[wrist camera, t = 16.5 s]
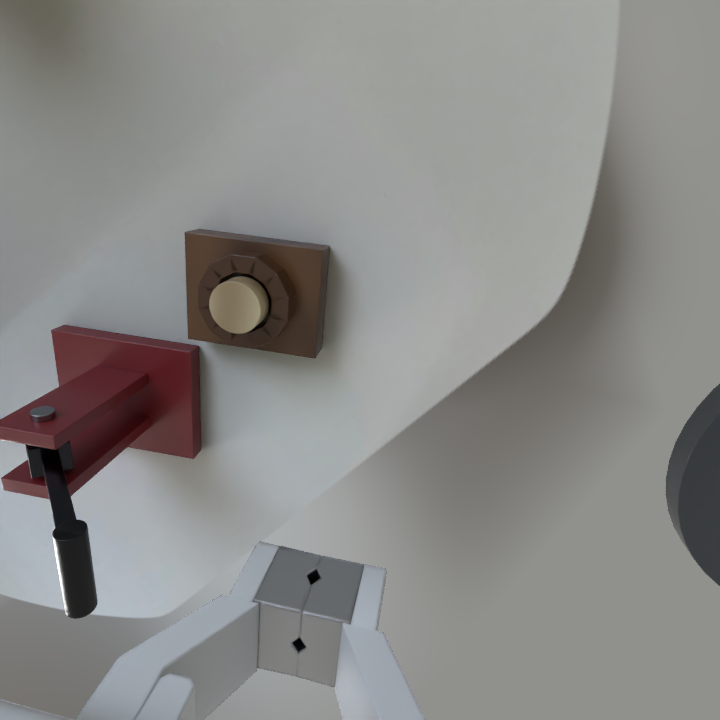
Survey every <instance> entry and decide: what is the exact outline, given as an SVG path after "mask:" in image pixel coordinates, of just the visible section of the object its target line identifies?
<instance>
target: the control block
mask: <svg viewBox="0 0 720 720" xmlns="http://www.w3.org/2000/svg"><path fill="white" fill-rule="evenodd" d="M329 251H330V246H326V245H319V244H311V243H303V242H296V241H288V240H280V239H273V238H265V237H257V236H250V235H242V234H234V233H227V232H219V231H211V230H203V229H197V230H192V231H188V232H185V253H186V285H187V318H188V339H193V340H200V341H206V342H213V343H219V344H226V345H232V346H239V347H245V348H251V349H258V350H264V351H271V352H277V353H284V354H290V355H297V356H303V357H310V358H316V356H317V355H318V353H319V352H320V350H321V349H322V339H323V327H324V314H325V301H326V289H327V276H328V264H329ZM238 276H245V277H249V278H251V279H253V280H255V281H257V282H258V283H259V284H260V285H261V286H262V287H263V288H264V290H265V291H266V293H267V296H268V300H269V310H268V313H267V316H266V317H265V319H264V320H263V321H262V322H261V323H260V324H258V325H257V326H256V327H255V328H254V329H252V330H251V331H249V332H246V333H242V334H235V333H231V332H228V331H226V330H224V329H223V328H221V327H220V326H219V325H218V324H217V323H216V322H215V320H214V319H213V317H212V315H211V312H210V308H209V300H210V296H211V294H212V292H213V290H214V289H215V288H216V287H217V286H218V285H219V284H221V283H223V282H225V281H227V280H229V279H231V278H234V277H238Z"/></svg>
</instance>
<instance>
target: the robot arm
mask: <svg viewBox="0 0 720 720" xmlns="http://www.w3.org/2000/svg"><path fill="white" fill-rule="evenodd" d="M386 574H387V570H386V568H381V567H376V566H370V565H366V564H365V566H364V564H360V563H355V562H351V561H345V560H341V559H335V558H331V557H326V556H320V555H316V554H312V553H308V552H304V551H300V550H296V549H291V548H287V547H283V546H277V545H273V544H269V543H265V542H261V541H260V542H259V543H258V544H257V545H256V546H255V548H254V549H253V551H252V553H251V555H250V557H249V559H248V560H247V563H246V564H245V566H244V568H243V570H242V572H241V573H240V575H239V577H238V579H237V581H236V583H235V584H234V586H233V588H232V590H231V592H230V594H229V595H228V596H226V595H220V596H219V597H217V598H216V599H214V600H212V601H211V602H209V603H207V604H206V605H204V606H202V607H201V608H199V609H197V610H196V611H194V612H192V613H191V614H189V615H188V616H186V617H184V618H182V619H181V620H179V621H178V622H176V623H174V624H173V625H171V626H169V627H168V628H166V629H164V630H163V631H161V632H159V633H158V634H156V635H154V636H153V637H151V638H150V639H148V640H146V641H145V642H143V643H141V644H140V645H138V646H136V647H135V648H133V649H131V650H130V651H128V652H126V653H125V654H123V655H121V656H120V657H119V658H118V659H117V661H116V662H115V663H114V665H113V666H112V668H111V669H110V671H109V672H108V673H107V675H106V676H105V678H104V679H103V681H102V682H101V683H100V685H99V686H98V687H97V689H96V690H95V692H94V693H93V695H92V696H91V697H90V699H89V700H88V702H87V703H86V704H85V706H84V707H83V709H82V710H81V712H80V713H79V714H78V716H77V717H76V719H75V720H204V719H205V718H206V717H207V716H208V715H210V714H211V713H212V712H213V711H214V710H215V709H216V708H217V707H218V706H219V705H220V704H221V703H222V702H224V701H225V700H226V699H227V698H228V697H229V696H230V695H231V694H232V693H233V692H234V691H235V690H237V689H238V688H239V687H240V686H241V685H242V684H243V683H244V682H245V681H246V680H247V679H248V678H250V677H251V676H252V675H253V674H254V673H255V672H256V671H257V668H260V669H264V670H269V671H274V672H279V673H283V674H287V675H292V676H296V677H300V678H304V679H307V680H310V681H314V682H318V683H321V684H325V685H328V686H332V687H335V693H336V696H337V700H338V703H339V707H340V710H341V714H342V718H343V720H425V718H424V716H423V714H422V712H421V710H420V708H419V705H418V703H417V701H416V699H415V697H414V695H413V693H412V691H411V689H410V687H409V685H408V682H407V680H406V678H405V676H404V674H403V672H402V670H401V668H400V666H399V663H398V661H397V659H396V657H395V655H394V653H393V651H392V649H391V647H390V645H389V643H388V640H387V639H386V636H385V634H384V633H383V632H379V631H377V630H378V624H379V617H380V611H381V605H382V599H383V593H384V586H385V580H386ZM0 720H73V719H70V718H66V717H62V716H59V715H55V714H52V713H48V712H45V711H41V710H38V709H34V708H30V707H27V706H23V705H19V704H16V703H13V702H9V701H5V700H2V699H0Z"/></svg>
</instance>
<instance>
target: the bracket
mask: <svg viewBox="0 0 720 720" xmlns="http://www.w3.org/2000/svg"><path fill="white" fill-rule="evenodd" d="M51 331H52V339H53V346H54V353H55V360H56V367H57V374H58V381H59V387H58V388H56V389H54V390H53V391H51V392H49V393H47V394H45V395H44V396H42V397H40V398H38V399H36V400H35V401H33V402H31V403H29V404H27V405H26V406H24V407H22V408H20V409H18V410H17V411H15V412H13V413H11V414H9V415H8V416H6V417H4V418H2V419H0V440H5V441H11V442H16V443H22V444H27V445H32V446H38V447H43V448H49V449H54V450H56V449H58V448H59V447H61V446H62V445H63V444H65V443H66V442H68V441H69V440H70V445H71V452H72V459H73V466H74V468H73V469H72V470H67V471H64V474H65V477H66V481H67V485H68V489H69V493H70V496H72V495H73V494H74V493H75V492H76V491H77V490H78V489H80V488H81V487H82V486H83V485H84V484H85V483H86V482H88V481H89V480H90V479H91V478H92V477H93V476H94V475H96V474H97V473H98V472H99V471H100V470H101V469H103V468H104V467H105V466H106V465H107V464H108V463H109V462H111V461H112V460H113V459H114V458H115V457H116V456H117V455H119V454H120V453H121V452H122V451H123V450H124V449H125V448H127V447H131V448H136V449H142V450H147V451H153V452H158V453H164V454H169V455H175V456H180V457H186V458H191V459H194V458H195V457H196V455H197V454H198V453H199V452H200V451H201V420H200V375H199V346H196V345H189V344H183V343H177V342H170V341H164V340H157V339H151V338H145V337H138V336H132V335H125V334H119V333H113V332H106V331H100V330H93V329H87V328H81V327H74V326H68V325H63V326H60V327H58V328H55V329H53V330H51ZM1 480H2V485H3V490H5V491H10V492H15V493H20V494H25V495H31V496H36V497H41V498H46V499H49V496H48V491H47V486H46V481H45V476H42V477H38V478H34V479H32V478H31V473H30V468H29V462H28V460H27V461H25V462H24V463H22V464H21V465H19V466H18V467H16V468H15V469H14V470H12V471H11V472H9V473H8V474H6V475H5V476H3V477H2V478H1Z"/></svg>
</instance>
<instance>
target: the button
mask: <svg viewBox="0 0 720 720" xmlns="http://www.w3.org/2000/svg"><path fill="white" fill-rule="evenodd" d="M209 308H210V312H211V315H212V317H213V319H214V320H215V322H216V323H217V324H218V325H219V326H220V327H221V328H223V329H224V330H226V331H228V332H231V333H235V334H242V333H246V332H249V331H251V330H252V329H254V328H255V327H256V326H257V325H258V324H260V323H261V322H262V321H263V320H264V319H265V317H266V316H267V313H268V310H269V300H268V296H267V293H266V291H265V290H264V288H263V287H262V286H261V285H260V284H259V283H258V282H257V281H255V280H253V279H251V278H249V277H245V276H238V277H234V278H231V279H229V280H227V281H225V282H223V283H221V284H219V285H218V286H217V287H216V288H215V289H214V290H213V292H212V294H211V296H210V300H209Z"/></svg>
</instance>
